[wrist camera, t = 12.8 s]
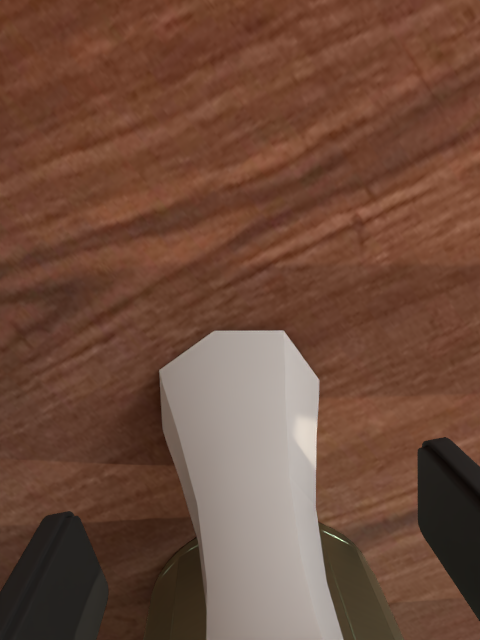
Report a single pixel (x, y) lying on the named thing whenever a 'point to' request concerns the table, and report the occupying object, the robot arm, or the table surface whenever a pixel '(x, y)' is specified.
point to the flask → (251, 483)
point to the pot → (341, 575)
